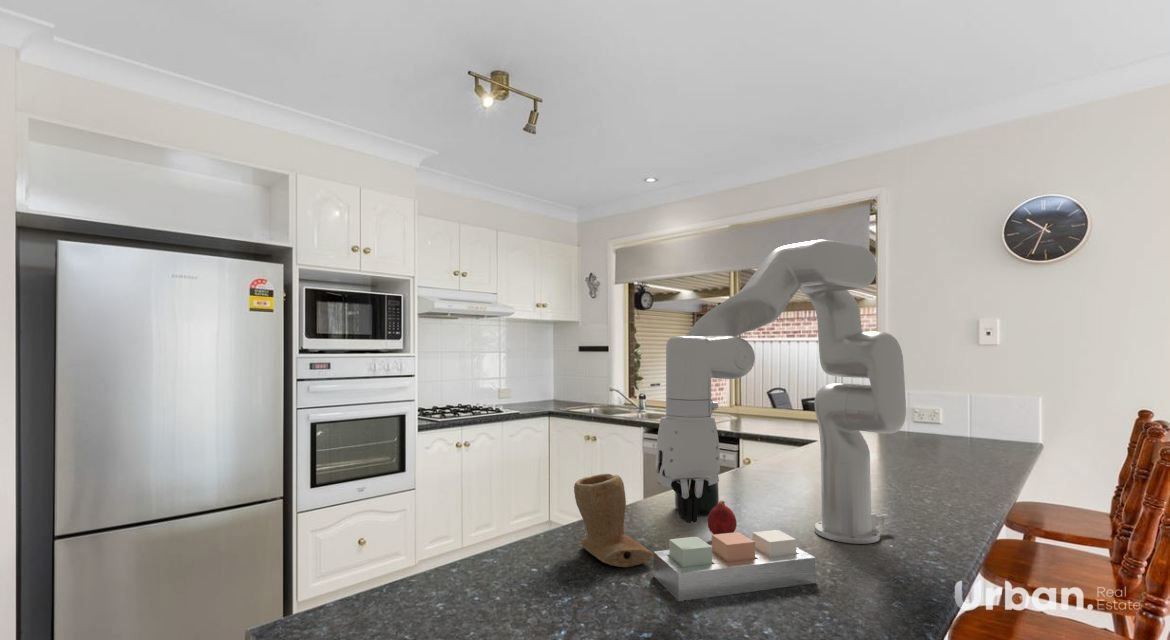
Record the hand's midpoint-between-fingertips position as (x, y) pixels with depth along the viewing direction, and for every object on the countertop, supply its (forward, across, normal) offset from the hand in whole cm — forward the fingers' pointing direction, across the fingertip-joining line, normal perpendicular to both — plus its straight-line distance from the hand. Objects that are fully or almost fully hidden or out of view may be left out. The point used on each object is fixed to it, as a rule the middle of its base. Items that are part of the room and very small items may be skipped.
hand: (688, 520), depth 94 cm
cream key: (+7, -16, 0) cm, 18 cm away
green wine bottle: (+10, -21, -39) cm, 46 cm away
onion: (+11, -16, -18) cm, 27 cm away
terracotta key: (+7, -8, 0) cm, 11 cm away
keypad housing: (+10, -8, 0) cm, 13 cm away
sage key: (+7, 0, 0) cm, 7 cm away
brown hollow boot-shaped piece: (+11, +8, -16) cm, 21 cm away
